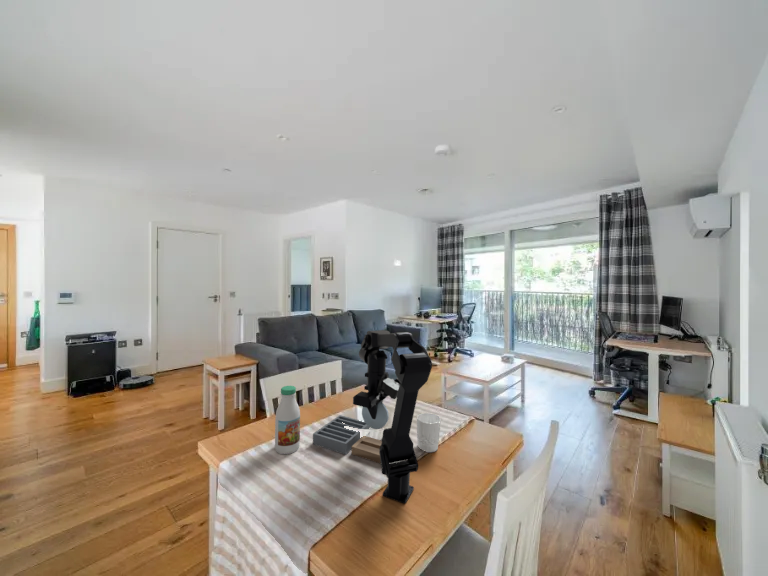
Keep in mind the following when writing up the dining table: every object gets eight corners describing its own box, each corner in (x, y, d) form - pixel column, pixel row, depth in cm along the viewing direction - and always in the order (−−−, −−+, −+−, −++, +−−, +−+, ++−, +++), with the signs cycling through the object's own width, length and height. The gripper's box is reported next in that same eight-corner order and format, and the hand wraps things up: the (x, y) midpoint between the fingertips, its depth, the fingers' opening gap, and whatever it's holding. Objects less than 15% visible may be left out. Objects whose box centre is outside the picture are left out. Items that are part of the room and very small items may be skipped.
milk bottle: (269, 452, 100) (270, 390, 99) (284, 440, 107) (285, 382, 106) (290, 457, 98) (291, 393, 97) (304, 444, 105) (305, 385, 104)
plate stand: (386, 465, 95) (386, 457, 95) (351, 454, 100) (351, 446, 100) (396, 452, 102) (396, 444, 102) (363, 442, 107) (363, 435, 107)
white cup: (438, 441, 109) (439, 413, 109) (440, 454, 102) (441, 424, 101) (415, 439, 110) (416, 411, 110) (415, 452, 102) (416, 422, 102)
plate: (386, 432, 98) (387, 404, 98) (361, 425, 102) (362, 398, 102) (388, 430, 100) (389, 402, 99) (363, 423, 103) (364, 396, 103)
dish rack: (345, 454, 100) (346, 443, 100) (312, 443, 106) (312, 433, 105) (369, 432, 114) (370, 422, 114) (339, 424, 120) (339, 415, 120)
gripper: (386, 383, 88) (385, 437, 89) (410, 366, 105) (409, 412, 106) (352, 376, 93) (351, 428, 94) (380, 361, 110) (379, 405, 111)
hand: (374, 418), depth 101 cm, fingers closed on plate, 1 cm apart
